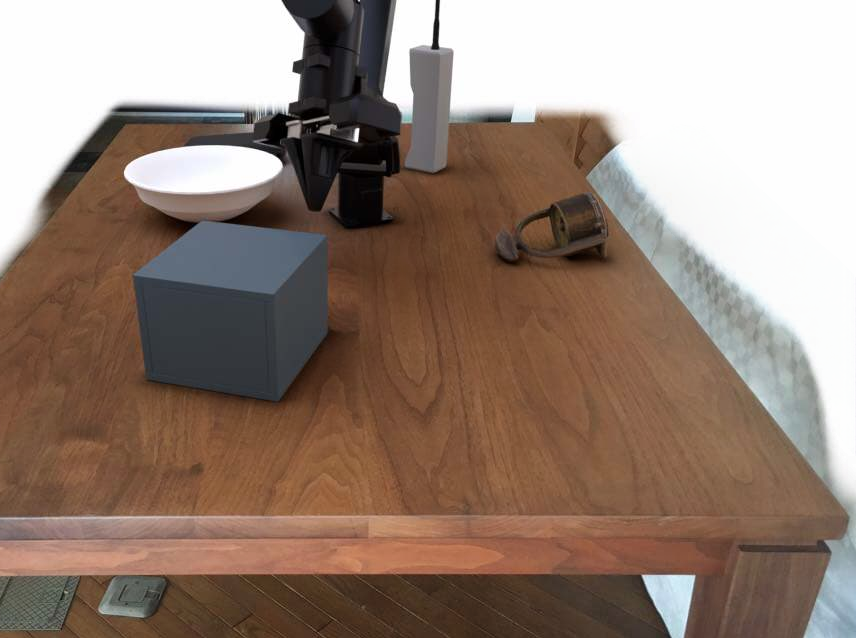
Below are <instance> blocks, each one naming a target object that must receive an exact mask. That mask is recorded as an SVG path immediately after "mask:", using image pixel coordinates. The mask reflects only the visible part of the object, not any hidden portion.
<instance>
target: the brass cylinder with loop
mask: <svg viewBox="0 0 856 638" xmlns="http://www.w3.org/2000/svg"><path fill="white" fill-rule="evenodd" d="M548 217H549V221H550V227H551V231H552V235H553V239H554V241H555V245H556V247H557V248H553V249H538V248H534V247H531V246H529V245H527V244H526V243H524V242H523V240H522V239H521V233H522V232H523V230H524V229H525V227H526V226H528V225H530V224H531V223H532V222H535V221H538V220H542V219H545V218H548ZM608 237H609V224H608V220H607V218H606V214H605V211H604V208H603V206H602V204H601V202H600V201H599V198H598V197H597V196H596V195H595V194H594V193H592V192H591V191H584V192H582V193H580V194H577V195H572V196H571V197H567V198H563V199H560V200H557V201H553V202H552V203H551V204H550V206H549V207H548V208H545V209H540V210H538V211H536V212H533V213H531V214H529V215H528V216H526V217H525V218H523V219H522V220H520V222H519V223H518V224H517V226H516V228H515V231H514V236H513V237H512V236H511V235H510V234H509V233H508V231H506V230H500V231H498V233H497V234H496V235H495V238H494V247H495V251H496V252H497V254H498V255H499V256H500V257H501V258H502V259H504V260H505V261H508V262H512V263H513V262H517V261H518V260H519V258H520V252H519V251H522V252H523V253H525V254H526V255H529V256H532V257H535V258H543V259H551V258H552V259H553V258H557V257H561V256H562V257H563V256H565V257H570V256H573V255H576V254H580V253H583V252H587V251H589V250H593V249H596V251H597V252H598V254H599V255H600V256H601V257H602V258H604V259H605V258H606V257H607V252H608V251H607V249H608V247H607V239H608Z"/></svg>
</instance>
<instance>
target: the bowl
mask: <svg viewBox="0 0 856 638" xmlns="http://www.w3.org/2000/svg"><path fill="white" fill-rule="evenodd" d="M283 170H284V165H283V162H282V160H281V161H280V160H279V159H278V158H277V157H275V156H274V155H272V154H269V153H267V152H264V151H260V150H256V149H251V148H245V147H237V146H221V145H207V146H189V147H184V146H182V147H173V148H168V149H164V150H163V149H162V150H159V151H155V152H151V153H148V154H145V155H143V156H140V157H138V158H136V159H134V160H132V161H131V162H129V163H128V164H127V165H126V166H125V168H124V171H123V175H124V179H125V180H126V181H127V182H129V183H130V184H131V185H132V186H133V187H134V188H135V190H136V193H137V195H138V197H139V199H140V200H141V201H142V202H143V203H144V204H147V205H148V206H150V207H153V208H155V209H156V210H158V211H159V212H161V213H164V214H165V215H167V216H170V217H171V218H175V219H178V220H180V221H184V222H188V223H197V224H198V223H200V222H201V221H210V222H218V223H219V222H224V221H227V220H230V219H234V218H235V217H238V216H240V215H242V214H244V213H245V212H248V211H250V210H251V209H252V208H253V207H255V206H256V205H258V203H260V202H261V201H263V200H265V199H266V198H267V197H269V196H270V195H271V193H272V192H273V189H274V184H275V182H276V180H277V178H278V177H279V176H280V175H281V174H282V173H283Z"/></svg>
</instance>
